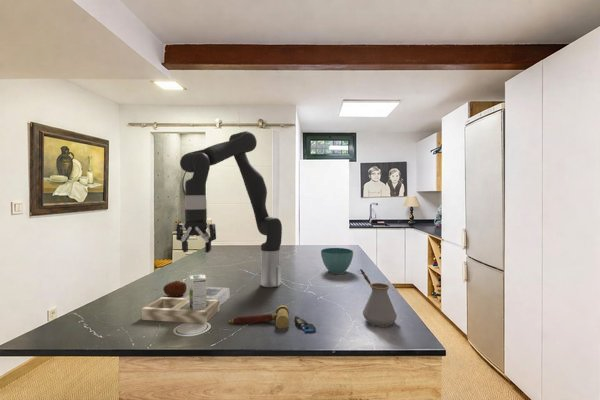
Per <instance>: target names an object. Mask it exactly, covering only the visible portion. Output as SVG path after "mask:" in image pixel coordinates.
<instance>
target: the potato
mask: <svg viewBox="0 0 600 400" xmlns="http://www.w3.org/2000/svg"><path fill="white" fill-rule="evenodd" d="M187 289H188V287H187V284H186V282H183V281H180V280H174V281H171V282H169V283H167V284H166V285H164V286H163V292H164V294H165V295H167V296H170V297H181V296H183V295H184V294H186V292H187Z"/></svg>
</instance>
